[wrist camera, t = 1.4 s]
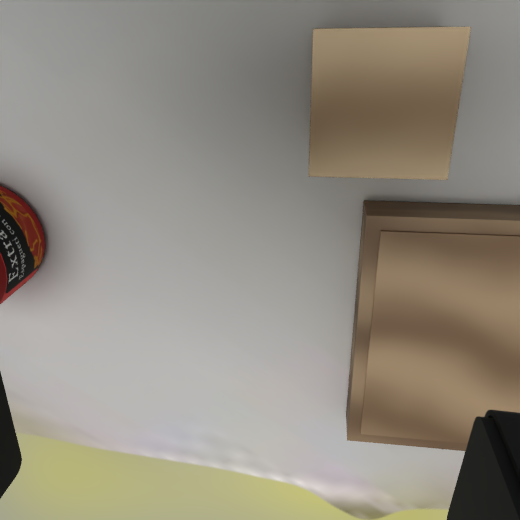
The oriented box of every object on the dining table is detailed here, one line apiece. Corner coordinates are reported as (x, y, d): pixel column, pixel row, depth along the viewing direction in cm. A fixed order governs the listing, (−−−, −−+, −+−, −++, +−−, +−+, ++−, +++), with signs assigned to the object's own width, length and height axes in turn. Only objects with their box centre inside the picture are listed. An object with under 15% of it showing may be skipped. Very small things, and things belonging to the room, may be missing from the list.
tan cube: (317, 28, 25) (313, 29, 19) (440, 26, 24) (471, 26, 19) (313, 147, 27) (308, 176, 22) (424, 148, 27) (447, 179, 21)
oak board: (363, 200, 28) (366, 216, 26) (668, 209, 26) (701, 228, 24) (346, 413, 35) (347, 441, 33) (586, 434, 33) (605, 465, 31)
